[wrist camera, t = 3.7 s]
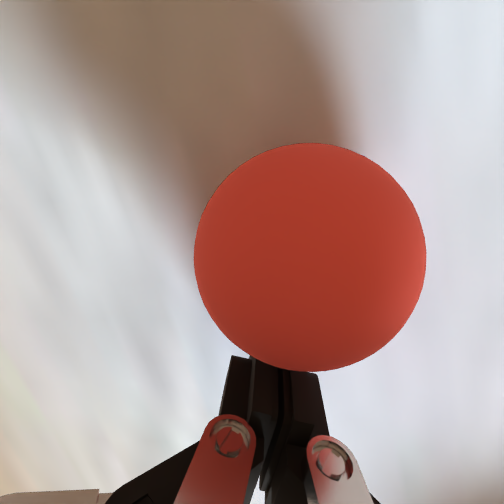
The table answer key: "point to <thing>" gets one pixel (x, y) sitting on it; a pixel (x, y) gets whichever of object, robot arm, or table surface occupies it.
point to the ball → (310, 257)
